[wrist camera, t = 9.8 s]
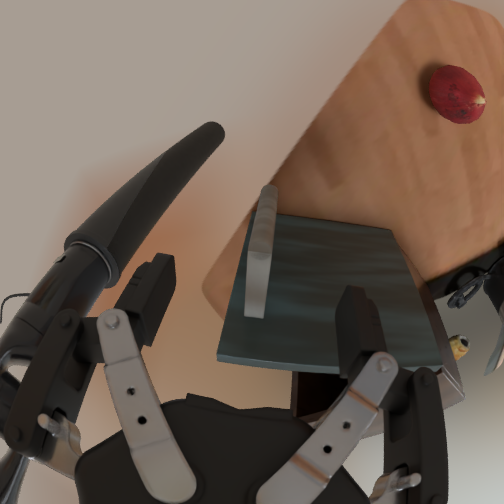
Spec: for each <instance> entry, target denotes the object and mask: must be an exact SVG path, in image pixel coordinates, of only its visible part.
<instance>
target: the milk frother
mask: <svg viewBox="0 0 504 504" xmlns="http://www.w3.org/2000/svg"><path fill="white" fill-rule="evenodd" d="M483 280H485V281H484V285H483V288H484V291H485V293H486V294H487V295H488V296H489V298H490V300H491V301H492V303H493V305H494V307H495V308H496V310H497V312H498V314H499V316H500V318H501V321H502V323H503V325H504V257H503V258H501V259H500V260H499V261H497V262H496V263H495V264H494V265H493V267H492V268H491V269H490V271H489V272H488V274H486V275H481V276H478V277H476V278H474V279H472V280H470V281H469V282H467V283H466V284H465V285H463V286H462V287H461V288H460V289H459V290H458V291H457V292H455V293H454V294H453V296H452V297H451V298H450V299H449V301H448V303H447V304H448V307H449V308H455V307H457V308H459V309H460V308H461V307H463V306H464V305H465V304H466V303H467V301H468V300H469V299H470V298H471V297H473V295H474V294H475V293H476V292H477V291H478V290H479V288H480V287H481V285H482V283H483ZM474 285H476V286H475V287H474V289H473V290H472V291H471V292H470V293H469V294H468V295H466V296H465V297H464V295H463V293H464V292H465V291H467V290H468V289H469V288H470V287H471V286H474Z"/></svg>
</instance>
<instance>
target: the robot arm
mask: <svg viewBox="0 0 504 504" xmlns="http://www.w3.org/2000/svg"><path fill="white" fill-rule="evenodd" d="M54 263H55V264H54V265H53V266H52V267H51V268H50V270H49V271H48V272H47V273H46V275H45V276H44V277H43V278H42V279H41V281H40V282H39V283H38V285H37V286H36V287H35V288H34V290H33V291H32V292H31V293H23V294H14V295H10V296H8V297H7V298H6V299H4V301H3V303H2V306H1V314H0V315H1V317H0V323H1V322H2V309H3V305H4V303H5V301H6V300H8V299H9V298H12V297H17V296H28V298H27V299H26V300H25V302H24V303H23V305H22V306H21V308H20V309H19V310H18V312H17V313H16V315H15V316H14V318H13V319H12V321H11V322H10V324H9V325H8V327H7V329H6V330H5V332H4V333H3V335H2V336H1V338H0V438H2V439H3V440H5V441H6V443H7V445H8V446H9V449H8V451H7V453H6V454H5V455H4V456H3V458H2V459H1V460H0V504H17V502H18V498H19V493H20V489H21V486H22V482H23V479H24V476H25V473H26V470H27V468H28V465H29V462H30V459H31V460H33V461H35V462H38V463H40V464H44V465H46V466H48V467H49V468H51V469H53V470H55V471H57V472H59V473H61V474H63V475H65V476H66V477H68V478H71V479H73V480H75V484H76V487H77V491H78V496H79V504H447V501H448V453H447V440H446V429H445V421H444V413H443V406H442V400H441V394H440V388H439V382H438V378H437V376H436V374H435V373H434V371H433V370H431V369H430V368H428V367H420V368H418V369H417V370H416V371H415V372H413V371H410V370H407V369H404V368H402V367H399V366H398V364H397V361H396V360H395V358H394V357H393V356H392V355H390V354H389V353H388V351H387V347H386V342H385V337H384V333H383V328H382V326H381V320H380V316H379V312H378V308H377V306H376V305H375V303H374V302H373V300H372V299H368V298H367V297H366V293H365V289H364V287H362V286H355V285H347V286H346V288H345V290H344V292H343V295H342V297H341V299H340V301H339V303H338V305H337V308H336V311H335V325H336V335H337V346H338V359H339V373H340V378H348V385H347V386H346V387H345V388H344V390H343V391H342V392H341V393H340V395H339V396H338V397H337V399H336V400H335V401H334V402H333V404H332V405H331V406H330V407H329V408H328V410H327V411H326V412H325V413H324V414H323V415H322V416H321V418H320V419H319V420H318V421H317V422H316V423H315V424H314V425H313V426H311V425H309V424H308V423H307V422H305V421H303V420H302V419H300V418H297V417H295V416H293V410H292V409H281V408H272V407H263V408H253V409H237V408H234V407H232V406H229V405H227V404H224V403H222V402H220V401H218V400H216V399H213V398H209V397H204V396H199V395H195V394H190V393H187V396H186V399H176V400H171V401H168V402H165V403H163V404H161V403H160V400H159V398H158V396H157V394H156V391H155V389H154V386H153V384H152V382H151V379H150V376H149V374H148V371H147V369H146V366H145V363H144V361H143V358H142V355H141V349H142V347H143V345H146V346H150V347H151V346H152V343H153V341H154V338H155V336H156V333H157V331H158V328H159V326H160V324H161V321H162V319H163V317H164V314H165V312H166V310H167V307H168V305H169V303H170V300H171V298H172V296H173V293H174V291H175V286H176V272H175V260H174V256H173V255H168V254H163V253H157V254H156V255H155V257H154V259H153V261H152V262H145V263H143V264H142V265H141V266H139V267H138V268H137V269H136V271H135V273H134V274H133V276H132V278H131V279H130V281H129V283H128V284H127V286H126V287H125V289H124V291H123V292H122V294H121V296H120V297H119V299H118V301H117V303H116V304H115V306H114V308H113V309H108V310H106V311H104V312H103V313H101V314H100V316H99V317H86V316H87V314H88V313H89V311H90V310H91V308H92V306H93V305H94V303H95V302H96V300H97V298H98V297H99V295H100V294H101V292H102V291H103V289H104V288H105V286H106V285H107V284H108V283H109V281H110V280H111V278H112V268H111V265H110V263H109V261H108V259H107V258H106V256H105V255H104V254H103V253H102V252H101V251H100V250H99V249H98V248H97V247H96V246H94V245H93V244H91V243H89V242H87V241H83V240H76V241H74V242H72V243H71V244H70V246H69V247H68V249H67V250H66V251H65V252H64V253H63V254H62V255H61V256H60V257H58V258H57V259H56V260H55V261H54ZM97 363H105V366H104V372H105V375H106V380H107V383H108V387H109V390H110V393H111V397H112V400H113V403H114V406H115V409H116V412H117V415H118V418H119V421H120V424H121V427H122V430H120V431H119V432H117V433H115V434H114V435H112V436H111V437H109V438H107V439H106V440H104V441H103V442H101V443H99V444H97V445H96V446H94V447H92V448H91V449H89V450H87V451H86V452H84V453H82V452H81V448H80V439H81V436H80V432H79V429H78V428H77V426H76V425H75V423H76V420H77V417H78V413H79V411H80V408H81V405H82V402H83V399H84V396H85V393H86V391H87V388H88V385H89V383H90V380H91V377H92V375H93V372H94V369H95V367H96V364H97ZM12 365H21V366H26V367H28V369H27V371H26V373H25V375H24V377H23V379H22V382H20V381H19V380H18V379H17V378H16V377H14V376H13V375H12V374H11V373H10V372H8V368H9V367H10V366H12ZM378 408H380V409H383V420H384V472H383V475H382V476H380V477H379V478H378V479H377V481H376V483H375V486H374V488H373V492H372V494H371V496H370V497H369V498H368V497H367V495H366V494H365V493H364V491H363V490H362V489H361V488H360V487H359V485H358V484H357V483H356V482H355V481H354V479H353V478H352V477H351V476H350V474H349V473H348V472H347V471H346V469H345V468H344V467H343V465H342V464H343V463H344V461H345V460H346V459H347V457H348V456H349V454H350V453H351V452H352V451H353V449H354V448H355V447H356V445H357V444H358V443H359V441H360V440H361V438H362V437H363V435H364V434H365V432H366V431H367V430H368V428H369V427H370V425H371V424H372V422H373V420H374V419H375V417H376V416H377V414H378V412H379V409H378Z"/></svg>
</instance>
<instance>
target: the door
mask: <svg viewBox="0 0 504 504" xmlns="http://www.w3.org/2000/svg"><path fill="white" fill-rule="evenodd" d="M277 202H278V189H277V188H276V187H275V186H273V185H266V186H264V187H263V188H262V190H261V194H260V199H259V203H258V207H257V211H256V212H254V211H252V214H251V218H250V222H249V226H248V230H247V234H246V238H245V242H244V245H243V249H242V253H241V257H240V261H239V265H238V269H237V273H236V277H235V281H234V285H233V289H232V293H231V297H230V301H229V305H228V309H227V313H226V317H225V321H224V325H223V329H222V333H221V337H220V341H219V345H218V350H217V361H219V362H225V363H232V364H238V365H246V366H253V367H261V368H269V369H279V370H289V371H301V372H315V373H334V374H340V373H339V359H338V346H337V335H336V325H335V311H336V308H337V305H338V303H339V301H340V299H341V297H342V295H343V292H344V290H345V288H346V286H347V285H355V286H362V287H364V289H365V293H366V297H367V298H368V299H372V300H373V302H374V303H375V305H376V306H377V308H378V312H379V316H380V320H381V326H382V328H383V333H384V337H385V342H386V347H387V351H388V353H389V354H390V355H392V356H393V357H394V358H395V360H396V361H397V364H398V366H399V367H402V368H404V369H407V370H410V371H413V372H415V371H416V370H417V369H418V368H420V367H428V368H430V369H431V370H433V371H434V372H436V371H438V370H439V369H440V368H441V367H442V366H443V363H442V360H441V356H440V353H439V349H438V346H437V343H436V340H435V336H434V333H433V330H432V327H431V324H430V322H429V319H428V316H427V313H426V310H425V308H424V305H423V302H422V300H421V297H420V294H419V292H418V289H417V287H416V284H415V282H414V280H413V277H412V275H411V273H410V270H409V268H408V266H407V263H406V261H405V259H404V257H403V255H402V252H401V250H400V248H399V246H398V244H397V242H396V240H395V238H394V236H393V234H392V232H391V230H385V229H379V228H373V227H367V226H360V225H354V224H347V223H340V222H333V221H326V220H319V219H312V218H304V217H296V216H288V215H280V214H276V212H277Z"/></svg>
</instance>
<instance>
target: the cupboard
mask: <svg viewBox="0 0 504 504" xmlns="http://www.w3.org/2000/svg"><path fill="white" fill-rule="evenodd" d="M397 244H398V243H397ZM398 246H399V245H398ZM399 248H400V250H401V252H402V255H403V257H404V259H405V261H406V263H407V266H408V268H409V270H410V273H411V275H412V277H413V280H414V282H415V284H416V287H417V289H418V292H419V294H420V297H421V300H422V302H423V305H424V308H425V310H426V313H427V316H428V319H429V322H430V324H431V327H432V330H433V333H434V336H435V340H436V343H437V346H438V349H439V353H440V356H441V360H442V363H443V366H442V367H441V368H440V369H439V370H438V371H436V372H434V373H435V374H436V376H437V378H438V382H439V388H440V394H441V400H442V406H443V410H444V409H446V408H448V407H450V406H453V405H455V404H457V403H459V402H461V401H463V400H465V399H466V398H465V394H464V390H463V386H462V382H461V378H460V375H459V371H458V368H457V364H456V361H455V358H454V354H453V351H452V348H451V345H450V342H449V339H448V336H447V334H446V331H445V328H444V325H443V322H442V320H441V317H440V314H439V312H438V309H437V307H436V305H435V302H434V300H433V297H432V295H431V292H430V290H429V288H428V286H427V284H426V283H425V281H424V280H423V278H422V277H421V275H420V274H419V272H418V271H417V270H416V268H415V267H414V265H413V264H412V262H411V261H410V260H409V258H408V257H407V256H406V254H405V253H404V251H403V250H402V249H401V247H400V246H399ZM347 385H348V378H340V374H334V373H315V372H301V371H292V388H291V389H292V390H291V404H290V409H292V410H293V416H295V417H297V418H300V419H302V420H303V421H305V422H307V423H308V424H309V425H311V426H313V425H314V424H315V423H316V422H317V421H318V420H319V419H320V418H321V416H322V415H323V414H324V413H325V412H326V411H327V410H328V408H329V407H330V406H331V405H332V404H333V402H334V401H335V400H336V399H337V397H338V396H339V395H340V393H341V392H342V391H343V390H344V388H345V387H346V386H347ZM378 409H379V412H378V414H377V416H376V417H375V419H374V420H373V422H372V424H371V425H370V427H369V428H368V430H367V431H366V432H365V434H364V435H363V437H362V438H361V439H364V438H367V437H371V436H374V435H377V434H381V433H384V420H383V409H380V408H378Z"/></svg>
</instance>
